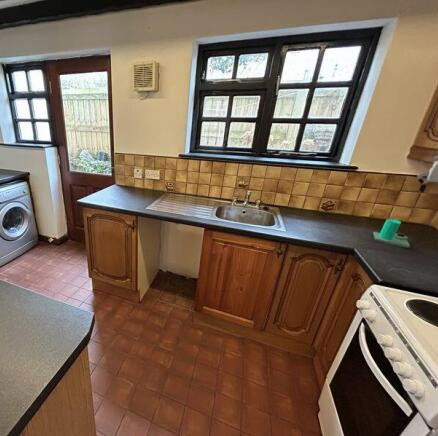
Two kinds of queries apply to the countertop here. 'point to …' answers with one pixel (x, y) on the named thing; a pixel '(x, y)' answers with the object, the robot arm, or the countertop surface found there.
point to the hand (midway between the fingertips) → (435, 193)
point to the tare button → (400, 234)
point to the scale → (393, 240)
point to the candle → (389, 229)
